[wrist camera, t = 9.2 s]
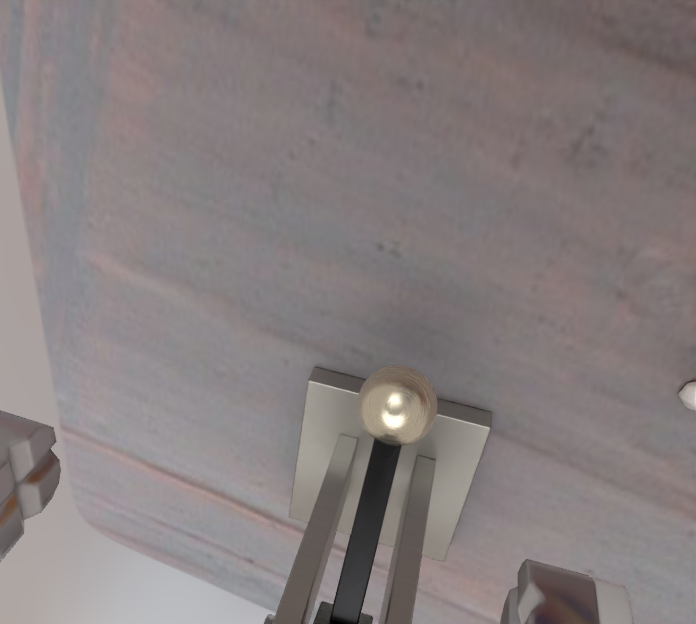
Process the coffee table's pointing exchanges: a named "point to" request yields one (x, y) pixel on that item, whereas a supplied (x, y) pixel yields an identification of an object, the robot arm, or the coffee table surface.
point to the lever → (379, 476)
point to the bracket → (404, 501)
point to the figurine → (689, 395)
